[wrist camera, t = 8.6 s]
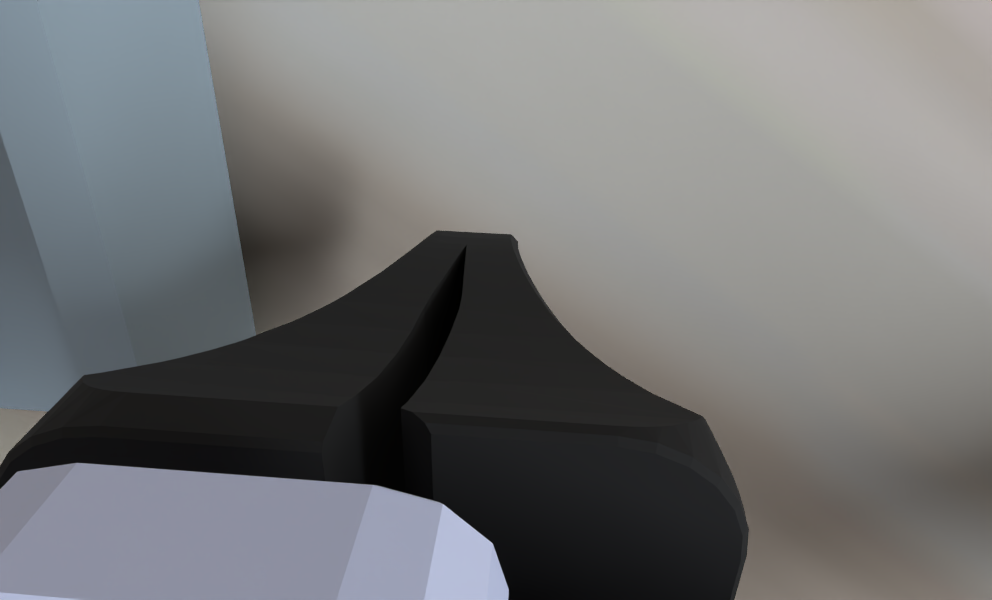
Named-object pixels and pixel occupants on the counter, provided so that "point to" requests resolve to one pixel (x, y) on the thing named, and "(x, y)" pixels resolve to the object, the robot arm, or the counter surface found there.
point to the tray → (110, 195)
